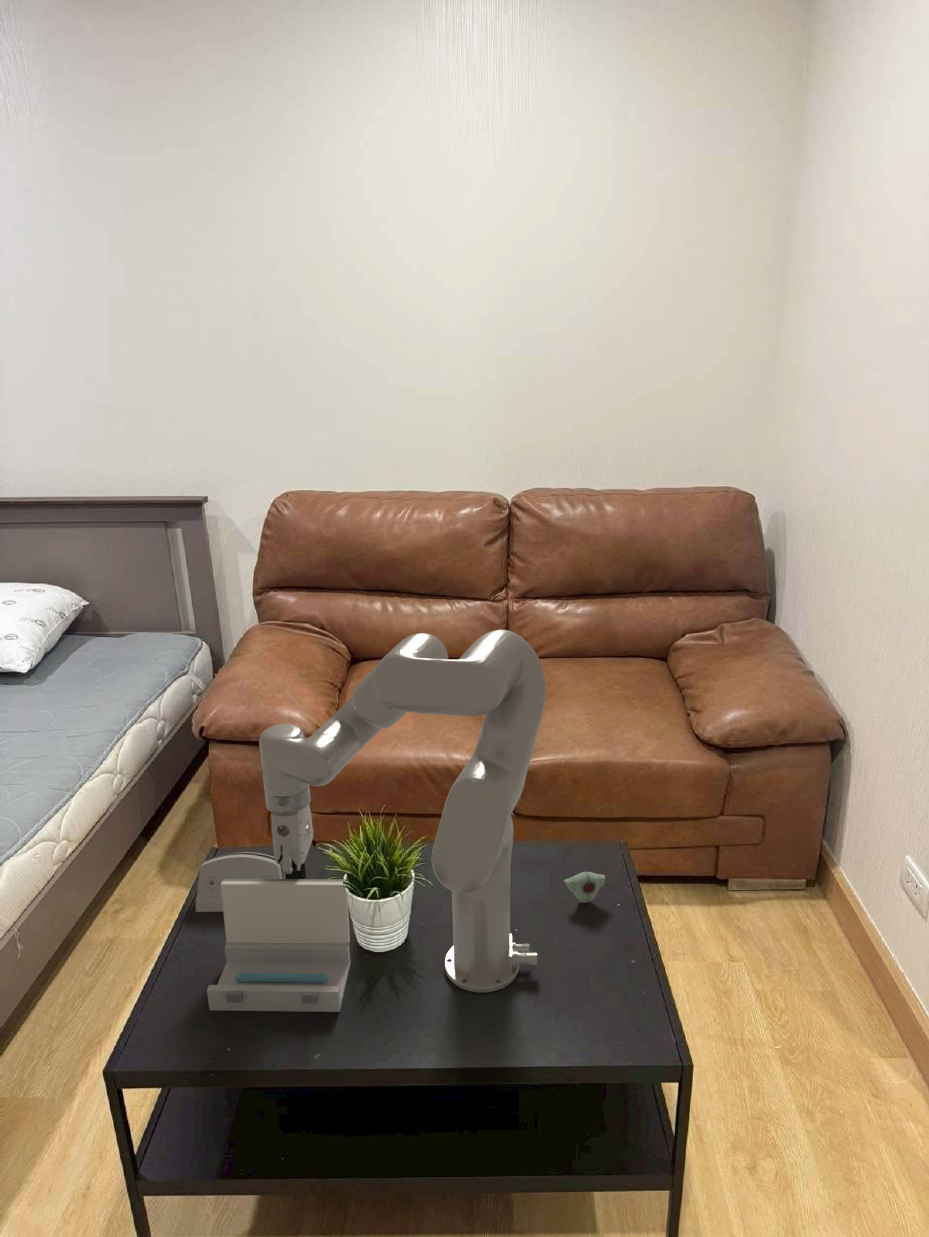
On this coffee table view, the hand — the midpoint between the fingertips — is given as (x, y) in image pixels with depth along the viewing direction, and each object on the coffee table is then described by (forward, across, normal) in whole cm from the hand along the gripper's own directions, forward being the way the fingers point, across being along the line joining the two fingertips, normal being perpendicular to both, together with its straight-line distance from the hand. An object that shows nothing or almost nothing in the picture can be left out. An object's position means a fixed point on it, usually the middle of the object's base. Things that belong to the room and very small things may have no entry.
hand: (296, 884), depth 159 cm
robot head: (+9, +8, -52) cm, 53 cm away
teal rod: (+8, -15, 0) cm, 17 cm away
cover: (-1, -9, 0) cm, 9 cm away
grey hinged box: (+9, -15, 0) cm, 17 cm away
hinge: (+10, +8, +13) cm, 18 cm away
